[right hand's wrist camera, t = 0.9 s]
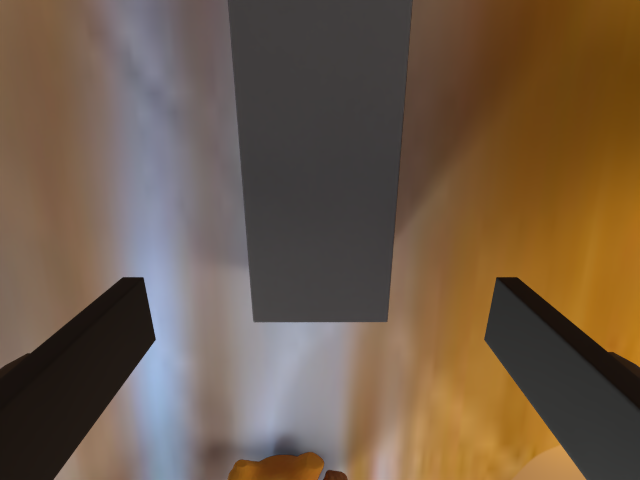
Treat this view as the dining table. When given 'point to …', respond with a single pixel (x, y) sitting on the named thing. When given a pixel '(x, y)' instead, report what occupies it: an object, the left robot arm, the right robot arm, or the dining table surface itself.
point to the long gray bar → (320, 152)
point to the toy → (283, 468)
